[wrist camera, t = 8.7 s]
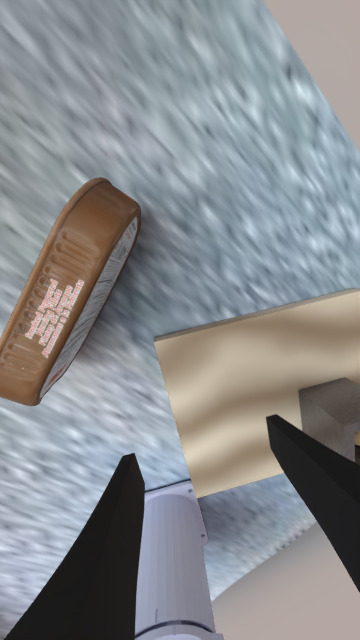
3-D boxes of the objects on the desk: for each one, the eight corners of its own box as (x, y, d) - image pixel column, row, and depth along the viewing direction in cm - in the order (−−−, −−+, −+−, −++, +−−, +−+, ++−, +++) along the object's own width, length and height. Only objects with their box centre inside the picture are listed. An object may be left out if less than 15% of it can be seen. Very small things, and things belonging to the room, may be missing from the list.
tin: (119, 205, 16) (76, 129, 8) (153, 227, 17) (146, 177, 9) (42, 357, 18) (-56, 423, 10) (75, 372, 19) (8, 446, 10)
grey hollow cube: (346, 419, 21) (403, 461, 16) (302, 431, 21) (346, 478, 16) (345, 377, 20) (405, 409, 15) (298, 389, 20) (343, 426, 15)
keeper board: (356, 437, 23) (421, 490, 18) (193, 484, 22) (205, 556, 17) (351, 288, 20) (433, 292, 14) (154, 337, 19) (151, 363, 13)
